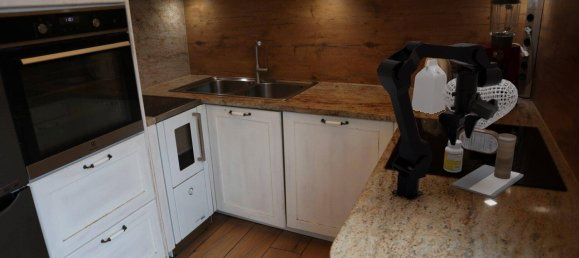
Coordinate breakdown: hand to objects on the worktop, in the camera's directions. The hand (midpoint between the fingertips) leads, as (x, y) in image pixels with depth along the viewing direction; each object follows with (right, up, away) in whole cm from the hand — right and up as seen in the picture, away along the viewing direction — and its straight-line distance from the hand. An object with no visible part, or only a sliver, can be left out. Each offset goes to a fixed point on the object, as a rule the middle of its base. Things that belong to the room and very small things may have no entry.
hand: (460, 141), depth 121 cm
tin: (+19, -5, +30) cm, 36 cm away
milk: (+18, +11, +84) cm, 87 cm away
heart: (+28, +3, +54) cm, 61 cm away
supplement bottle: (+3, -10, +14) cm, 17 cm away
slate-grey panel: (+10, -12, +5) cm, 16 cm away
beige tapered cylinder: (+15, -11, +6) cm, 19 cm away
